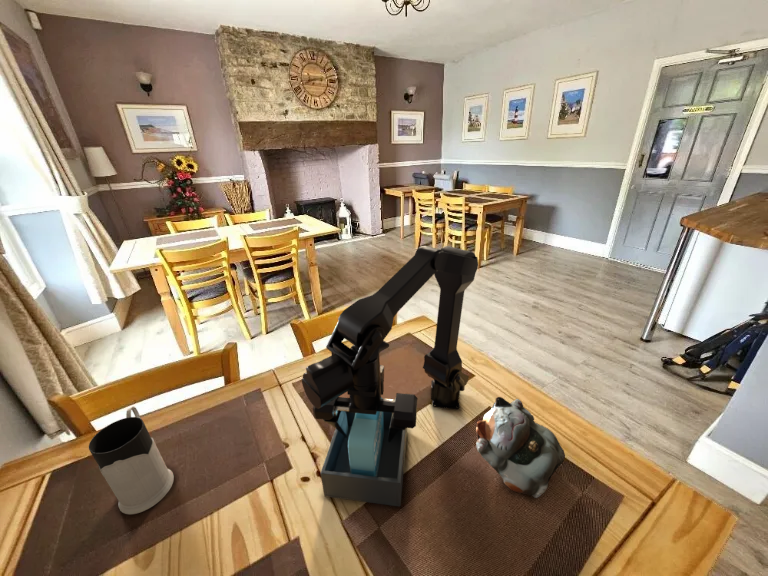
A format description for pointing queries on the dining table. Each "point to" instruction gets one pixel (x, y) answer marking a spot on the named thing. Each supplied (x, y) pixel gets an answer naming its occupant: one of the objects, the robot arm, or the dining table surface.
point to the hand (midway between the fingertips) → (368, 437)
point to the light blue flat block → (366, 443)
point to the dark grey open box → (360, 486)
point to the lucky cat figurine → (518, 447)
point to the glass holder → (131, 463)
